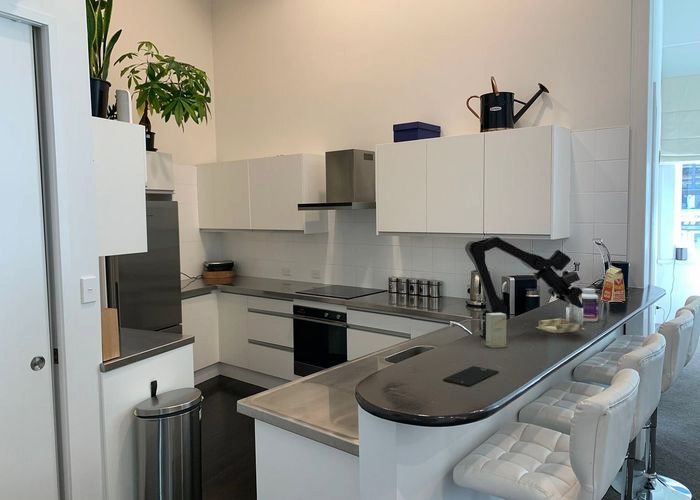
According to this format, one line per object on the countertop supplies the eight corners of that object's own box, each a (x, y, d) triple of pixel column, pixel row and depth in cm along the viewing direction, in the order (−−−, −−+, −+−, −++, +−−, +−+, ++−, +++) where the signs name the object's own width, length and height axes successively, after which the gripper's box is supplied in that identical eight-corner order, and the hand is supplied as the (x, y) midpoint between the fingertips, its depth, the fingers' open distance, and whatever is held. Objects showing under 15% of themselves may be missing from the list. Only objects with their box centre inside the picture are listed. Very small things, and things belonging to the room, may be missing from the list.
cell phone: (499, 374, 159) (499, 370, 159) (469, 388, 146) (469, 385, 146) (473, 368, 165) (473, 365, 165) (442, 382, 152) (442, 378, 152)
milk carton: (600, 301, 289) (601, 265, 287) (614, 300, 291) (614, 264, 290) (613, 303, 280) (614, 266, 279) (627, 302, 283) (627, 265, 282)
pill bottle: (600, 322, 231) (600, 290, 230) (581, 322, 232) (581, 290, 231) (595, 319, 239) (595, 288, 238) (577, 318, 240) (577, 287, 239)
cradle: (555, 333, 210) (555, 326, 210) (535, 328, 221) (535, 321, 221) (584, 329, 216) (584, 322, 216) (564, 324, 227) (564, 318, 227)
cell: (575, 324, 204) (576, 290, 203) (566, 322, 208) (566, 288, 207) (584, 323, 206) (584, 289, 205) (574, 321, 210) (575, 288, 209)
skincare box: (491, 348, 188) (491, 315, 188) (485, 345, 193) (485, 313, 192) (506, 346, 190) (507, 314, 189) (500, 344, 194) (500, 312, 194)
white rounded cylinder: (575, 325, 224) (575, 309, 224) (562, 323, 231) (562, 307, 230) (586, 324, 227) (587, 308, 227) (573, 321, 234) (573, 305, 233)
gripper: (577, 267, 196) (605, 295, 197) (555, 262, 215) (581, 288, 216) (557, 288, 196) (585, 316, 197) (537, 282, 215) (562, 308, 216)
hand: (578, 306), depth 207 cm, fingers closed on cell, 5 cm apart
